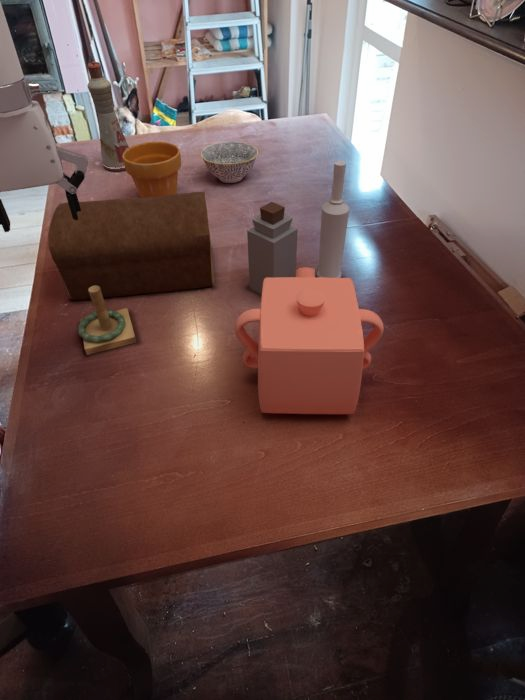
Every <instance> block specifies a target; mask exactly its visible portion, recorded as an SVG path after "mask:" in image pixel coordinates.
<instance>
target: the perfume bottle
mask: <svg viewBox="0 0 525 700" xmlns="http://www.w3.org/2000/svg"><path fill="white" fill-rule="evenodd" d="M285 208H286V207H285V206H283V205H281V204H278V203H276V202H273V201H270V202H268V203H267V204H264V205H263V206H261V207H259V212H260V213H259V215H257V216H255V217H253V218H252V219H251V221H252V224H253V227H251V228H249V229H247V231H246V235H247V260H248V281H249V289H250V290H252V291H254V292H256V293H258V294H259V295H261V296H262V288H263V281H264V279H265V278H276V277H295V276H296V269H297V252H298V250H297V249H298V228H297V227H295V226H293V225H292V222H293V217H292V216H289V215H286V214H285V211H286V209H285Z"/></svg>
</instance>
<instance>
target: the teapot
mask: <svg viewBox="0 0 525 700" xmlns="http://www.w3.org/2000/svg"><path fill="white" fill-rule="evenodd" d="M253 322H258V323H259V324H258V325H259V327H258V341H257V342H256V341H255V340H254V339H253V338H252V336H250V334H249V333H248V332H247V331H246V329H245V327H244V326H245V325H247V324H251V323H253ZM362 323H366V324H370V325H373V326H374V327H373V328H372V330H371V331H370V332H369V333H368V334H367V335H366V336H365V337H364V333H363V327H362ZM384 327H385V326H384V323H383V321H382V318H381V317H380V316H379V315H378V314H377V313H376V312H374V311H372V310H370V309H366V308H365V309H364V308H360V307H359V303H358V298H357V293H356V288H355V284H354V281H353V279H352V278H351V277H341V278H322V277H317V276H316V268H313V267H309V266H307V267H306V266H303V267H298V268H297V267H296V276H295V277H276V278H265V279H264V281H263V288H262V295H261V299H260V308H252V309H251V308H250V309H247V310H246V311H244V312H242V313H241V314H239V316H238V317H237V319H236V320H235V323H234V332H235V336H236V337H237V339H238V341H239V342H240V343H241V345H242V346H243V347H244V348H245V350H244V352H243V354H242V361H243V363H244V365H245V366H246V367H247V368H250V369H257V391H258V403H259V408H260V409H259V410H260V412H261V413H263V414H286V415H287V414H290V415H292V414H295V415H354V414H355V412H356V409H357V406H358V403H359V398H360V393H361V385H362V377H363V370H365V369H367V368H368V367H369V366H370V365H371V364H372V363H371V362H372V355H371V353H370V352H369V351H370V350H371V349H372V348H373V347H374V346H376V345H377V343H378V342H379V341H380V340H381V338H382V337H383V334H384V331H385V329H384Z"/></svg>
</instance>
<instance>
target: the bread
mask: <svg viewBox="0 0 525 700" xmlns="http://www.w3.org/2000/svg"><path fill="white" fill-rule="evenodd" d="M79 204H80V208H81V211H78V212H77V214H78V220H75V219H73V217H72V213H71V210H70V207H69V204H68V202H62V203H59V204H58V205H57V206H56V208H55V210H54V211H53V214H52V216H51V221H50V223H49V229H48V234H47V239H48V242H47V243H48V250H49V252H50V257H51V259H52V261H53V263H54V265H55V266H56V269H57V270H58V272H59V274H60V276H61V278H62V281H63V283H64V286H65V289H66V292H67V294H68V295H67V296H69V298H70V299H71V301H80V300H81V301H83V300H91V297H90V294H89V291H88V289H89V288H90V287H91V286H99V287H100V289H101V292H102V295H103V298H112V297H124V296H126V297H127V296H134V295H143V294H154V293H165V292H166V293H167V292H173V291H180V290H181V291H182V290H193V289H202V288H208V287H214V284H215V281H216V278H215V277H216V276H215V268H214V260H213V249H212V241H211V232H210V224H209V215H208V207H207V199H206V193H205V191H193V192H192V191H191V192H184V193H176V194H175V195H165V196H157V197H146V198H141V197H131V198H124V199H123V198H122V199H120V198H119V199H118V198H116V199H115V198H114V199H113V198H112V199H103V200H88V201H79Z"/></svg>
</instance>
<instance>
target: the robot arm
mask: <svg viewBox="0 0 525 700" xmlns="http://www.w3.org/2000/svg"><path fill="white" fill-rule="evenodd" d="M17 53H18V52H17V50H16V47H15V43H14V40H13V37H12V34H11V30H10V28H9V25H8V22H7V18H6V15H5V11H4V9H3V5H2V2H1V1H0V193H4V192H12V191H20V190H27V189H33V188H38V187H44V186H50V185H55V184H57V185H58V186H59V187H60V188H62V189H64V191H65V197H66V201H67V203H68V204H69V207H70V210H71V213H72V217H73V219H75V220H78V214H77V212H78V211H81V208H80V204H79V202H80V201H79V198H78V194H77V192H78V189H79V187H80V186H81V184H82V183H83V181H84V180H85V177H86V172H87V169H88V165H89V160H88V157H87V156H86V155H85V154H82V153H79V152H76V151H72V150H69V149H66V148H63V147H60V146H57V143H56V141H55V138H54V135H53V132H52V130H51V127H50V124H49V122H48V119H47V118H46V117H47V116H46V115H45V113H44V111H43V108H42V107H41V104H40V102H38V101H37V100H33V99H34V97H36V96H37V95H42V91H41V87H40V84H39V81H35V82H33V81H29V80H28V79H26V77H25V75H24V72H23V69H22V66H21V63H20V60H19V57H18V54H17ZM62 161H65V162H68V163H71V164H74V165H75V166H76V167H75V170H74V171H73V173H72V174H71V176H69V175H68V174H67V173H66V172H64V171H63V162H62ZM0 225H1V227H2V230H3V232H4V233H9V232H10V231H11V220H10V218H9V215H8V213H7V211H6V208H5V206H4V203H3V200H2V198H0Z"/></svg>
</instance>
